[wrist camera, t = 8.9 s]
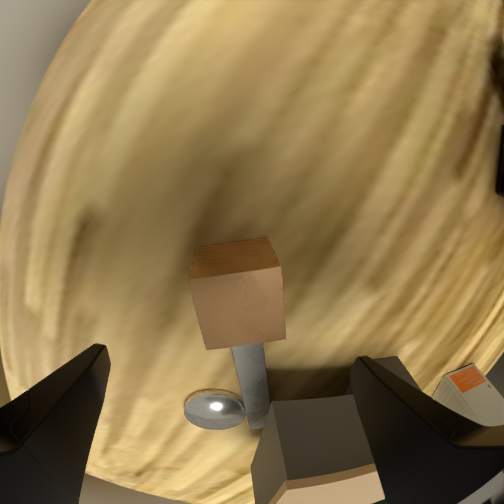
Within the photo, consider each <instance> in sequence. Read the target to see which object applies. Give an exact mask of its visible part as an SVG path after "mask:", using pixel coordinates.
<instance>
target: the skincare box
mask: <svg viewBox="0 0 504 504" xmlns="http://www.w3.org/2000/svg"><path fill="white" fill-rule="evenodd" d="M432 398H433V400H436V401H438V402H439V403H441V404H442V405H444V406H446V407H447V408H449V409H451V410H453V411H455V412H457V413H458V414H460V415H462V416H464V417H466V418H468V419H470V420H472V421H474V422H476V423H478V424H481V425H484V426H498V425H504V399H503V398H502V396H501V395H500V394H499V393H498V391H497V390H496V389H495V388H494V387H493V385H492V384H491V383H490V382H489V381H488V380H487V378H486V377H485V376H484V375H483V374H482V372H481V371H480V370H479V369H478V368H477V367H476V366H475V364H474V363H472V364H471V365H469V366H466V367H464V368H461V369H459V370H456V371H454V372H451V373H448V374H445V375H444V376H443V378H442V380H441V382H440V384H439V385H438V387H437V389H436V390H435V392H434V394H433V395H432Z"/></svg>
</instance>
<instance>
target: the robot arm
mask: <svg viewBox="0 0 504 504" xmlns="http://www.w3.org/2000/svg"><path fill="white" fill-rule="evenodd" d="M496 191H497V194H498V195H500V196H502V197H504V125H503V133H502V148H501V159H500V167H499V175H498V182H497V188H496ZM110 367H111V363H110V358H109V354H108V350H107V347H106V346H105V345H103V344H97V343H95V344H93V345H92V346H90V347H89V348H87V349H86V350H84V351H83V352H82V353H80V354H79V355H77V356H76V357H74V358H73V359H71V360H70V361H69V362H67V363H66V364H64V365H63V366H61V367H60V368H58V369H57V370H56V371H54V372H53V373H51V374H50V375H48V376H47V377H46V378H44V379H43V380H41V381H40V382H38V383H37V384H36V385H34V386H33V387H31V388H30V389H29V391H28V390H27V391H25V392H24V393H23V394H21V395H20V396H18V397H17V398H15V399H14V400H12V401H11V402H9V403H7V404H6V405H4V406H2V407H1V408H0V504H79V497H80V492H81V487H82V482H83V478H84V473H85V469H86V464H87V460H88V456H89V452H90V448H91V444H92V441H93V437H94V433H95V430H96V426H97V423H98V419H99V416H100V413H101V410H102V406H103V402H104V397H105V392H106V387H107V382H108V377H109V372H110ZM349 377H350V382H351V386H352V391H353V395H354V399H355V404H356V408H357V411H358V415H359V417H360V420H361V423H362V426H363V429H364V432H365V435H366V438H367V441H368V444H369V447H370V450H371V454H372V457H373V460H374V463H375V466H376V469H377V473H378V476H379V479H380V483H381V486H382V489H383V493H384V495H385V496H384V497H385V500H386V504H504V425H498V426H484V425H481V424H478V423H476V422H474V421H472V420H470V419H468V418H466V417H464V416H462V415H460V414H458V413H457V412H455V411H453V410H451V409H449V408H447V407H446V406H444V405H442V404H441V403H439V402H438V401H436V400H433V398H431V397H430V396H428V395H427V394H425V393H423V392H422V391H420V390H419V389H417V388H416V387H414V386H413V385H411V384H409V383H408V382H406V381H405V380H403V379H402V378H400V377H399V376H397V375H396V374H394V373H393V372H391V371H389V370H388V369H386V368H385V367H383V366H382V365H380V364H379V363H377V362H376V361H374V360H373V359H371V358H370V357H368V356H359V357H357V358H356V359H355V361H354V364H353V366H352V368H351V370H350V374H349Z"/></svg>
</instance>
